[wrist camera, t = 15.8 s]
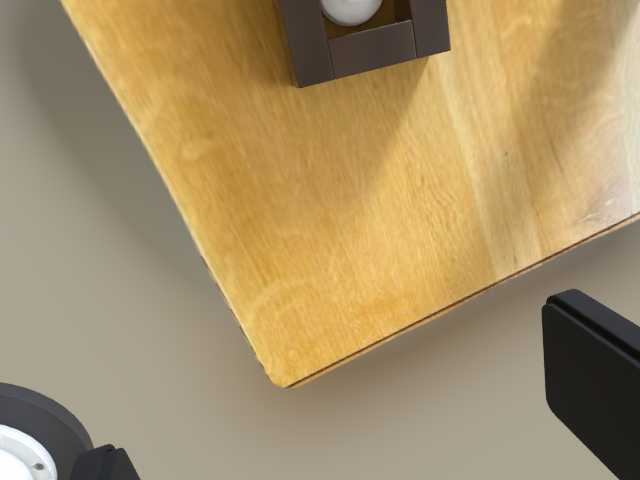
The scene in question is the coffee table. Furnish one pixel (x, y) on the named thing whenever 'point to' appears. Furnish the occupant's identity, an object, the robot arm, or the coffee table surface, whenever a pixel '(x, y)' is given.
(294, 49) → the socket block
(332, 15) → the chess piece
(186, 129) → the coffee table surface
